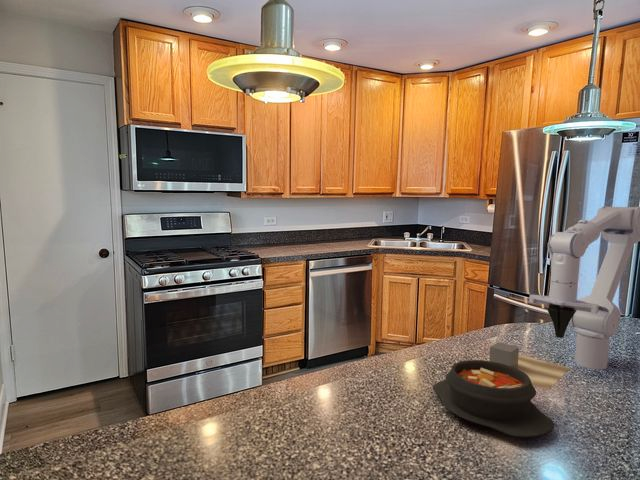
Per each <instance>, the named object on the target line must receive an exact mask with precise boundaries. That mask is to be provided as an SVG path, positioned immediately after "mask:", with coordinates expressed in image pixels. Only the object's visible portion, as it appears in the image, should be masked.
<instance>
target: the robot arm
mask: <svg viewBox="0 0 640 480" xmlns="http://www.w3.org/2000/svg"><path fill="white" fill-rule="evenodd" d="M600 236H601V237H602V239H603V240H605V241H607V242H609V243H608V244H609V245H608V248H607V250H606V253H605V255H604V258H603V260H602V263H601V266H600V269H599V272H598V274H597V277H596V279H595V282H594V284H593V287H592V290H591V291H590V294H589V295H586V296H584V297H581V298H578V286H579V284H578V283H579V274H580V273H579V272H580V262H581V261H580V260H581V258H582V257H583V256H584V254H585V253H586V251H587V249H588V248H589V245H592V244H593V243H594V242H596V241H598V239H599V238H600ZM639 242H640V206H606V205H603V206H601V207H600V208H598V209H597V212H596V215H595V216H594V217H593V218H591V219H590V220H588V219H580V220H578V222H577V223H576V224H574V225H573V226H570V227H568V228H567V229H566V230H564V231H563V232H562V231H556V232H555V233H552V234H551V236H550V237H549V239H548V242H547V250H548V253H549V261H550V262H551V270H550V271H551V272H550V285H549V286H550V288H549V295H543V294H542V295H541V294H529V299H528V300H529V301H528V302H529V304H540V305H544V306H548V307H547V312H548V314H549V316H550V318H551V321H552V324H553V329H554V334H555V337H556V338H561V339H563V338H564V337H565V334H566V331H567V328H568V326H569V324H570V326H571V327H572V328H573V331H574V332H576V336H575V337H576V339H575V351H574V353H575V354H574V363H575V364H577V365H578V366H580V367H583V368H587V369H592V370H606V369H608V363H609V359H610V356H609V355H610V338H612V337H613V336H615V335H616V334H617V333H618V331H619V329H620V320H621V316H622V313H621V310H620V309H619V307H618V306H617V305H616V304H615V303H614V302H613V301H614V297H615V296H616V292H617V291H618V290H617V289H618V287H619V284H620V283H621V282H620V281H621V279H622V276H623V273H624V271H625V268H626V266H627V264H628V260H629V259H630V255H631V253H632V251H633V247H634V244H637V243H639ZM577 298H578V299H577Z"/></svg>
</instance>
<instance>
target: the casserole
mask: <svg viewBox="0 0 640 480" xmlns="http://www.w3.org/2000/svg"><path fill="white" fill-rule="evenodd" d="M432 390H433V391H434V392H435V393H436V394H437V396H438V397H439V398H440V400H441V402H442V405H443V406H444V407H445V408H446V409H447V410H448V411H450V412H451V413H453V414H454V415H456V416H457V417H459V418H461V419H464V420H466V421H468V422H471V423H473V424H477V425H479V426H483V427H487V428H491V429H493V430H496V431H498V432H500V433H502V434H504V435H505V434H506V435H508V436H511V437H515V438H536V437H541V436H545V435H546V434H549V433H551V432H552V431H553V430H554V429H555V423H554V421H553V419H552V418H550V417H549V416H547V415H546V414H545V413H543V412H541V411H540V409H538V407H537V406H536V405H535V404H534V403H533V402H532V400H533V399H534V398H535V397H536V395H537V390H536V387H535V385H532V383H531V380H530V378H529V376H528V375H526V374H525V373H524V372H522V371H520V370H518V369H516V368H514V367H511V366H508V365H505V364H501V363H497V362H491V361H488V360H482V359H481V360H480V359H478V360H477V359H474V360H473V359H470V360H462V361H458V362H456V363H454V364H453V365H452V366H451V367H450V371H448V372H447V373H446V375H445V379H443V380H441V381H438V382H436V383H434V384H433V386H432Z"/></svg>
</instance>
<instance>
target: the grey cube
mask: <svg viewBox="0 0 640 480" xmlns="http://www.w3.org/2000/svg"><path fill="white" fill-rule="evenodd" d="M519 351H520V347H519V346H516V345H512V344H509V343H503V342H500V341H497V342H496V343H494V344H493V345H490V346H489V357H488V360H489V361H491V362H497V363H501V364H505V365H508V366H511V367H514V368H516V369H518V355H520V354H519Z"/></svg>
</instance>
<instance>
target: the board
mask: <svg viewBox="0 0 640 480" xmlns="http://www.w3.org/2000/svg"><path fill="white" fill-rule="evenodd" d="M487 361H489V359H488V360H487ZM570 369H571V367H569V366H564V365H560V364H557V363H552V362H549V361H544V360H541V359H536V358H533V357H529V356H526V355H520V354H518V370H520V371H522V372H524V373H525V374H526V375H528V376H529V378H530V380H531V383H532V385H533V386H534V387H539V388H542V389H546V390H550V389H552V387H553V386H554V385H555V384H556V383H558V381H559V380H560V379H561V378H562V377H563V376H564V375H565V374H566V373H567V372H568V371H569V370H570Z"/></svg>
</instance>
